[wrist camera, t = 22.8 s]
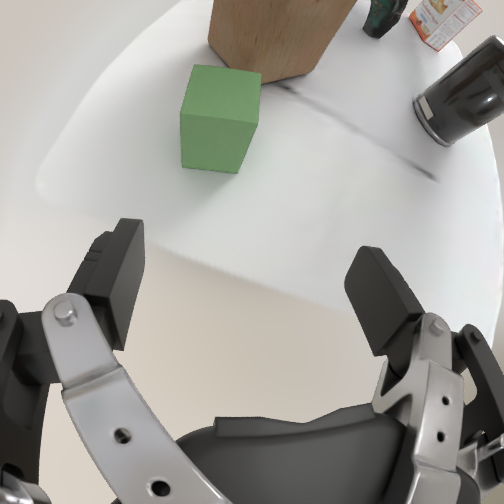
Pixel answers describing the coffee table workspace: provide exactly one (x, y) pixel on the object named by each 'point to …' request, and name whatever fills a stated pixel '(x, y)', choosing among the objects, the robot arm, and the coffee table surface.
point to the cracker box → (443, 20)
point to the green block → (218, 117)
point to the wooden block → (275, 34)
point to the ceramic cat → (383, 16)
